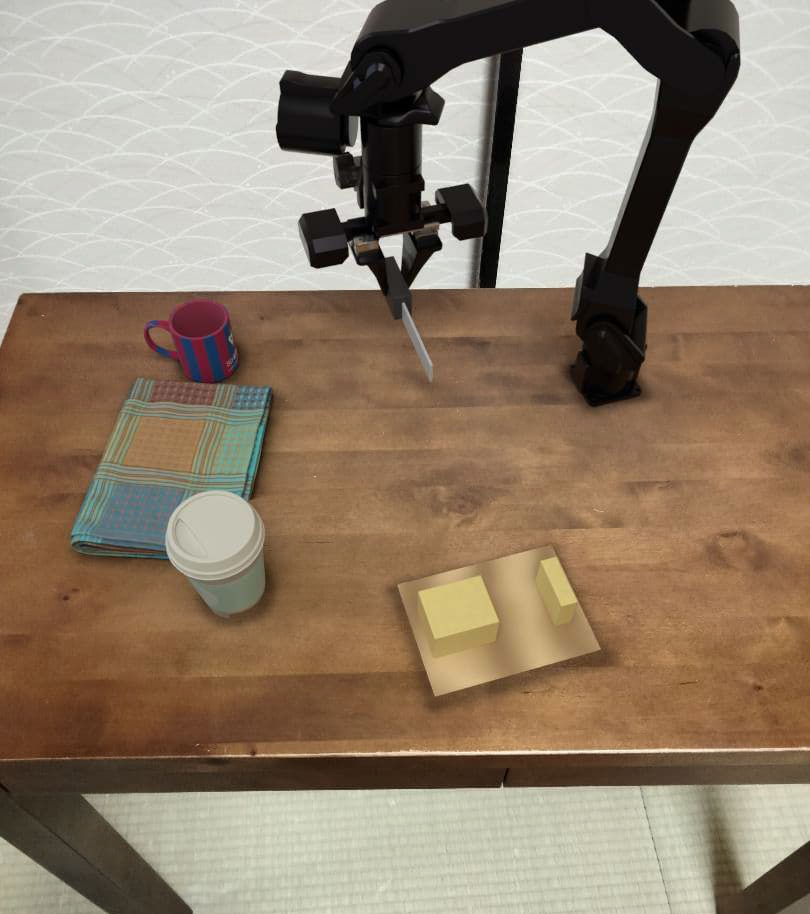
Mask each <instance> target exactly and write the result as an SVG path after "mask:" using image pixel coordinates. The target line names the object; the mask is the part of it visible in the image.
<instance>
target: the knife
mask: <svg viewBox="0 0 810 914" xmlns="http://www.w3.org/2000/svg"><path fill="white" fill-rule="evenodd" d="M385 260H386V271H387V281H388V292H387V296H383V297H384V299H385V301H386V305H387V306H388V309H389V311H390V313H391V315H392V318H393V320H394V321H398V320H402V322H403V324H404V326H405V329H406V331H407V334H408V335H409V338H410V341H411V342H412V345H413V348H414V349H415V351H416V354H417V356H418V358H419V360H420V363H421V366H422V367H423V370H424V372H425V373H426V376H427V378H428V380H429V382H433V377H434V364H433V362H432V360H431V357H430V355H429V353H428V351H427V349H426V347H425V345H424V342H423V340H422V338H421V336H420V333H419V331H418V329H417V327H416V325H415V323H414V321H413V294H412V293H411V292H412V291H411V290H410V288H408V286H407V284H406V281H405V279H404V277H403V275H402V273H401V268H400V267H399V265H398V262H397V259H396V258H395V256H394V255H391V256H385Z"/></svg>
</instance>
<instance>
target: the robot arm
mask: <svg viewBox="0 0 810 914" xmlns="http://www.w3.org/2000/svg"><path fill="white" fill-rule="evenodd" d="M596 29H601V30H602V31H604V33H606V34H608V35H609V36H611V37H613V38H614V39H615V40H616V41H617V42H618V43H619V44H620V45H621V47H622V48H623V49H624V50H625V51H626V52H627V53H628V54H629V55H630V57H632V58H633V59H634V60H635V61H636V62H637V64H638V65H640V66H641V67H642V69H643V70H644V71H646V72H647V73H649V74H650V75H652V76H653V77H654V78H656V85H655V92H654V99H653V106H652V112H651V116H650V119H649V122H648V125H647V128H646V131H645V133H644V137H643V140H642V143H641V145H640V148H639V152H638V155H637V158H636V160H635V163H634V166H633V169H632V172H631V175H630V178H629V181H628V184H627V187H626V190H625V193H624V195H623V198H622V201H621V204H620V206H619V210H618V213H617V216H616V219H615V221H614V224H613V227H612V230H611V234H610V236H609V240H608V242H607V244H606V246H605V248H604V249H603V250H602V251H601V252H600V253H599V255H595V254H593V253H590V252H585V253H584V254H585V255H584V261H583V262H584V263H583V269H582V271H581V273H580V274H579V276H578V277H577V278H576V279H575V287H574V292H573V293H574V294H573V301H572V307H571V313H570V314H571V315H570V321H571V322H575V329H574V331H575V335H576V337H578V338H579V339H580V340H581V341H582V346H581V349H580V350H578V351H577V354H576V357H575V363H573V364H572V363H571V364H570V365H569V369H568V370H569V372H570V374H571V378H572V380H573V382H574V383H575V385H576V386H577V388H578V391H579V392H580V393H581V394H582V395H583V397H584V398H585V400H586V402H587V404H588V405H589V406H590V407H597V406H602V405H605V404H606V405H607V404H610V403H614V402H617V401H622V400H627V399H631V398H636V397H640V396H641V395H642V393H643V389H642V387H641V386H640V384H639V383H638V382H637V380H638V377H639V374H640V370H641V367H642V365H643V364H644V362H645V361H646V352H647V349H648V344H647V333H648V316H649V305H648V304H647V303H646V301H644V299H643V298H642V297H641V296H640V294H639V285H640V279H641V273H642V270H643V268H644V265H645V263H646V262H647V261H646V260H647V258H648V256H649V253H650V251H651V249H652V245H653V243H654V240H655V238H656V236H657V233H658V230H659V228H660V225H661V222H662V220H663V218H664V216H665V213H666V210H667V207H668V204H669V203H670V199H671V197H672V195H673V192H674V190H675V187H676V185H677V182H678V179H679V176H680V174H681V172H682V169H683V167H684V164H685V162H686V159H687V157H688V154H689V152H690V150H691V147H692V144H693V143H694V141H695V140H696V138H697V136H698V135H699V134H700V133H701V132H702V131H703V130H704V129H705V127H707V126H708V124H709V123H711V121H712V120H713V119H714V118H715V116H716V114H717V113H718V111H719V110H720V108H721V106H722V104H723V103H724V101H725V100H726V98H727V96H728V95H729V93H730V91H731V90H732V88H733V86H734V85H735V83H736V81H737V79H738V77H739V74H740V69H741V64H742V62H741V60H742V59H741V57H742V56H741V32H740V15H739V13H738V10H737V7H736V6H735V3H734V2H733V1H732V0H383V1H381V2H379V3H377V4H376V5H375V6H374V7H373V8H372V9H371V10H370V12H369V13H368V15H367V17H366V19H365V21H364V24H363V26H362V28H361V30H360V31H359V33H358V36H357V37H356V40H355V42H354V44H353V46H352V49H351V51H350V59H349V60H348V62H347V64H346V66H345V68H344V70H343V72H342V74H341V77H337V76H328V75H318V74H309V73H305V72H303V71H299V70H292V69H286V70H285V71H284V72H283V74H282V76H281V78H280V80H279V81H278V86H279V98H278V104H277V113H276V114H277V116H276V118H277V119H276V121H277V122H276V124H275V136H276V140H277V144H278V147H279V148H280V150H281V151H282V152H289V153H298V154H305V155H314V156H323V157H331V158H332V168H333V175H334V181H335V185H336V187H338V188H339V190H346V189H347V190H348V189H352V188H353V191H354V192H355V193H356V203H357V206H358V207H359V210H364V215H363V216H359V217H353V218H348V219H346V220H345V221H341V219H340V217H339V214H338V211H337V210H336V208H335V207H332V208H325V209H321V210H315V211H309V212H304V213H302V214H301V216H300V217H299V219H298V221H297V228H298V235H299V239H300V241H301V244H302V247H303V250H304V253H305V255H306V258H307V261H308V264H309V266H310V268H313V269H317V270H318V269H325V268H329V267H335V266H340V265H343V264H344V263H345V262H346V260H347V259H348V258H350V252H351V254H352V256H353V258H354V259H353V260H354V261H355V264H356V265H357V266H359V267H366V266H367V267H368V268H369V270H370V272H371V273H372V274H373V276H374V277H375V279H376V282H377V284H378V286H379V289H380V291H381V294H382V296H383V297H384V296H387V292H388V281H387V271H386V260H385V257H386V256H385V254H384V252H383V250H382V248H381V245H380V242H379V241H380V239H384V238H388V237H394V236H399V235H402V247H401V249H402V250H401V262H400V263H401V264H400V271H401V273H402V275H403V277H404V279H405V281H406V284H407V286H408V288H409V289H410V288H411V286H412V285H413V283H414V281H415V280H416V278H417V277H418V275H419V273H420V272H421V270H422V269H423V267H424V266H425V265H426V263H427V262H428V261H429V260H430V259H431V257H432V256H433V255H434V254H435V253H436V252H440V251H442V249H443V246H444V245H443V241H442V239H441V238H440V235H439V231H440V225H443V224H448V223H449V224H451V231H450V232H451V234H452V236H453V237H454V238H455V239H456V240H458V241H459V242H462V241H467V240H472V239H478V238H483V237H485V235H486V234H487V233H488V224H489V216H488V210H487V209H486V207H485V205H484V204H483V203H484V202H483V201H482V200H481V198H480V195H478V193H477V191H476V189H475V188H474V187H473V186H472V185H471V184H470V183H469V182H467V183H462V184H457V185H451V186H445V187H439V188H437V189H435V190H434V203H435V204H431V203H430V201H429V200H422V192H425V190H426V181H425V179H424V177H423V126H424V125H425V126H434V127H435V126H436V127H437V126H438V125H439V124H440V121H441V118H442V114H443V111H444V108H445V105H446V100H445V98H444V97H442V95H440V94H439V93H438V92H437V91H435V90H434V89H433V88H432V86H431V85H433V84H434V83H435V82H438V81H439V79H441V78H443V77H444V76H445V75H447V74H448V73H450V72H451V71H452V70H455V69H456V68H459V67H460V66H463V65H465V64H468V63H472V62H475V61H476V62H477V61H479V60H484V59H487V58H491V57H494V56H498V55H502V54H507V53H510V52H513V51H517V50H521V49H524V48H528V47H532V46H536V45H540V44H544V43H547V42H551V41H554V40H558V39H562V38H566V37H569V36H573V35H577V34H581V33H584V32H588V31H592V30H596ZM359 129H360V130H359ZM358 132H360V133H359V134H360V149H361V151H360V152H361V154H360V155H356V156H354V155H353V154H352V153H351V152H350V151H346V149H347V148H354V147H355V145H356V142H357V139H358Z"/></svg>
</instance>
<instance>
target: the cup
mask: <svg viewBox="0 0 810 914" xmlns="http://www.w3.org/2000/svg"><path fill="white" fill-rule="evenodd" d="M152 328H159V329H163V330H165V331H167V332H168V333H170V335H171V338H172V341H173V345H174V348H175V350H170V349H166V348H164V347H162V346H159V345H158V344H157V343H156V342H155V341H154V340H153V338H152V337H151V335H150V329H152ZM143 337H144V340H145V343H146V344H147V346H148V347H149V349H151V350H152V351H153V352H154V353H156V354H158V355H160V356H162V357H165V358H167V359H173V360H177V361H179V363H180V366H181V369H182V371H183V374H184V375H185V376H186V377H187V378H188V379H190V380H191V381H192V382H200V383H210V384H215V383H218V382H222V381H224V380H226V379H227V378H229V377H230V376H232V374H234V372H235V371H237V368H238V366H239V362H240V358H239V353H238V350H237V346H236V341H235V336H234V333H233V328H232V323H231V319H230V315H229V312H228V310H227V308H226V307H225V306H224V305H223V304H221V302H218V301H216V300H213V299H207V298H206V299H205V298H199V299H192V300H189V301H186V302H184V303H181V304H180V305H178V306H177V307H176V308H174V309H173V310H172V312H171V313H170V315H169V317H168V321H167V320H161V319H160V320H159V319H154V320H150V321H148V322H147V323H146V324H145V326H144V328H143Z"/></svg>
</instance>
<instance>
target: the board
mask: <svg viewBox="0 0 810 914" xmlns="http://www.w3.org/2000/svg"><path fill="white" fill-rule="evenodd" d="M553 557H557V559H558V561H559V563H560V565H561V567H562V569H563V572H564V574H565V576H566V578H567V580H568V582H569V584H570V586H571V589H572V591H573V593H574V595H575V597H576V599H577V601H578V603H577V605H576V608H575V611H574V614H573V617H572V620H571V622H570V623H567V624H564V625H560V626H556V627H555V626H554V624H553V622H552V620H551V617H550V615H549V613H548V611H547V609H546V606H545V604H544V602H543V600H542V597H541V595H540V593H539V591H538V588H537V586H536V584H535V581H536V577H537V573H538V569H539V565H540V561H542V560H546V559H549V558H553ZM480 575H481V577H482V580H483V582H484V585H485V587H486V590H487V592H488V594H489V597H490V599H491V602H492V604H493V607H494V609H495V612H496V614H497V617H498V619H499V626H498V631H497V636H496V641H495V642H492V643H488V644H485V645H481V646H478V647H474V648H470V649H467V650H463V651H459V652H456V653H452V654H448V655H445V656H441V657H438V658H433V655H432V653H431V650H430V647H429V644H428V641H427V638H426V635H425V632H424V629H423V627H422V624H421V621H420V618H419V615H418V592H419V591H422V590H426V589H430V588H434V587H438V586H441V585H445V584H449V583H453V582H457V581H460V580H464V579H468V578H472V577H476V576H480ZM396 586H397V588H398V589H397V590H398V592H399V594H400V597H401V601H402V604H403V607H404V609H405V612H406V615H407V619H408V622H409V624H410V627H411V631H412V633H413V636H414V638H415V642H416V645H417V648H418V650H419V654H420V658H421V660H422V662H423V666H424V669H425V672H426V674H427V677H428V680H429V683H430V686H431V689H432V692H433V695H434V697H439V696H442V695H447V694H449V693H453V692H456V691H460V690H463V689H468V688H470V687H474V686H477V685H482V684H484V683H489V682H491V681H495V680H499V679H503V678H506V677H510V676H513V675H516V674H519V673H524V672H527V671H531V670H535V669H538V668H542V667H544V666H549V665H552V664H556V663H559V662H563V661H566V660H570V659H573V658H577V657H580V656H584V655H588V654H590V653H594V652H599V651H601V650H602V649H601V645H600V644H599V642H598V639H597V637H596V635H595V633H594V631H593V629H592V627H591V625H590V623H589V620H588V618H587V616H586V614H585V612H584V610H583V607H582V606H581V603H580V602H579V599H578V597H577V595H576V593H575V590H574V589H573V587H572V584H571V582H570V580H569V578H568V576H567V574H566V572H565V570H564V568H563V566H562V563H561V561H560V559H559V557H558V555H557V552H556V551H555V548H554V547H553V545H552V544H548V545H545V546H541V547H537V548H533V549H529V550H525V551H521V552H518V553H513V554H510V555H506V556H501V557H498V558H494V559H491V560H487V561H483V562H479V563H475V564H471V565H467V566H464V567H459V568H455V569H451V570H448V571H444V572H440V573H436V574H433V575H429V576H425V577H420V578H417V579H413V580H409V581H405V582H401V583H398V584H397V585H396Z"/></svg>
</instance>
